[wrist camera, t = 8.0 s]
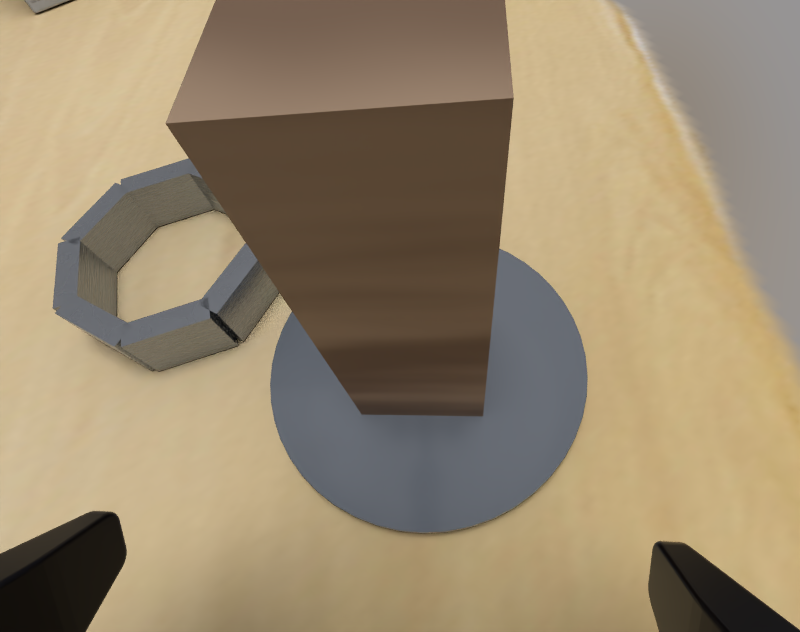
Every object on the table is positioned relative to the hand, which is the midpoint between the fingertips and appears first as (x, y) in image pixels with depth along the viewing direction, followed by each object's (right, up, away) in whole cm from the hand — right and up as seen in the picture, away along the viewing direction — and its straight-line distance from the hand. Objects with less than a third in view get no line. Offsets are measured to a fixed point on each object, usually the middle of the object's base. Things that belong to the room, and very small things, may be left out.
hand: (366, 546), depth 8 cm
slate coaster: (+2, +2, +11) cm, 11 cm away
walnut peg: (+1, +2, +10) cm, 11 cm away
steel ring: (-9, +6, +15) cm, 18 cm away
